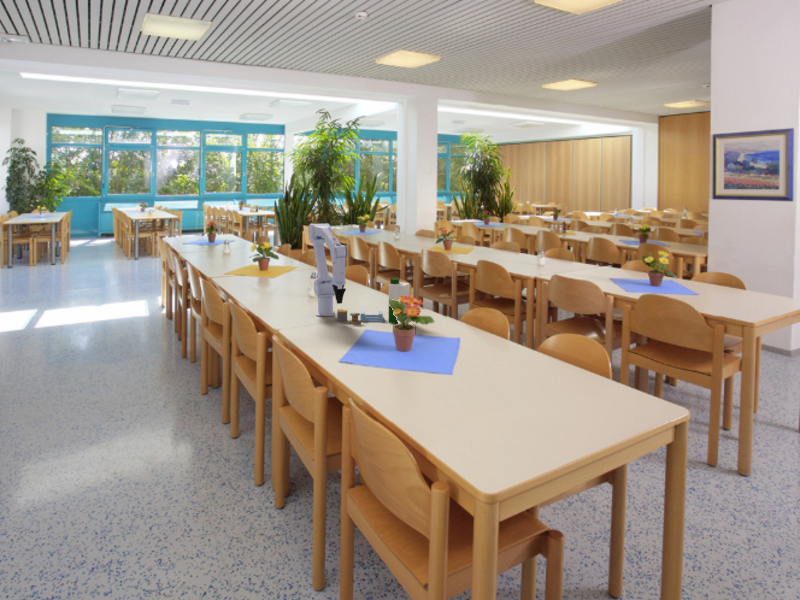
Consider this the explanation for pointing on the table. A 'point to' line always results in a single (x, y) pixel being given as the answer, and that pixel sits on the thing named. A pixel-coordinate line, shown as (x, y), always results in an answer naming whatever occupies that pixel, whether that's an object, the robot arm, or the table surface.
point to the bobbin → (354, 318)
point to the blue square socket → (371, 317)
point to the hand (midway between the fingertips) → (338, 301)
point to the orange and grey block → (342, 315)
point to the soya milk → (396, 294)
